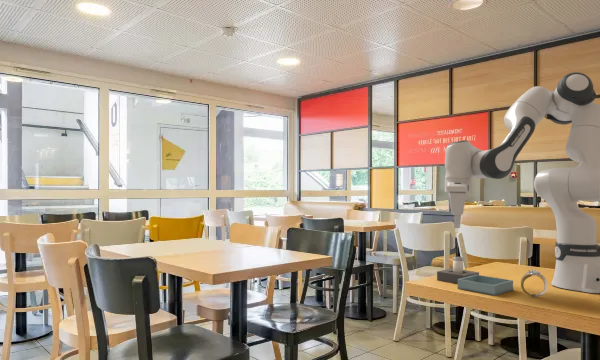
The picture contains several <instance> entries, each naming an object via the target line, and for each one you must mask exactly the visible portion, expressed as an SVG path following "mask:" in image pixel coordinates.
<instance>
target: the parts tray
mask: <svg viewBox="0 0 600 360" xmlns="http://www.w3.org/2000/svg"><path fill="white" fill-rule="evenodd" d="M457 289H458V290H463V291H468V292H472V291H473V293H478V292H479V293H478V294H483V293H484V294H483V295H488V294H489V296H493V295H494V296H495V297H496V296H498V295H501V294H502V295H503V294H505V293H508V292H512V291H513V290H514V280H513V279H506V278H502V277H501V278H500V277H493V276H487V275H481V274H479V275H473V276H469V277H465V278H461V279H458V284H457ZM494 296H493V297H494Z"/></svg>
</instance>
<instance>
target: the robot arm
mask: <svg viewBox="0 0 600 360" xmlns="http://www.w3.org/2000/svg"><path fill="white" fill-rule="evenodd" d="M596 98H597V94H596V91H595V90H594V84H593V81H592V79H591V78H590V76H588V75H587V74H585V73H582V72H579V71H578V72H569V73H567V74H566V75H564V76H563V77H562V78H561V79H560V80H559V81H558V83H557V85H556V88H555V90H549V89H548V88H546V87H544V86H539V85H537V86H532V87H530V88H529V89H528V90H527V91H525V92H524V93H523V94H521V96H519V97H518V98H517V99H516V100H515V101H514V103H513V104H511V106H510V107H509V108H508V109H507V111H506V113H505V115H504V117H503V123H504V125H505V128H506V129H507V130H508V131H509V133H508V134H507V136H506V137H505V138H504V139H503V141H502V142H501V144H499V145H498V146H496V147H494V148H491V149H487V150H483V149H480V148H478V147H477V146H474V145H473V144H472V143H471V142H470V141H469V140H467V139H465V140H458V141H453V142H449V143H448V144H447V146H446V149H445V154H444V168H445V176H444V193H447V196H448V197H449V198H448V199H449V205H450V206H449V207H450V213H451V215H453V221H454V223H453V224H454V226H453V227H454V229H460V228H461V219H462V218H461V217H462V216H463V214H464V210H465V204H466V203H465V201H466V198H467V197H468V193H472V178H474V179H496V180H500V179H505V178H506V177H507V176H509V175H510V174H511V172H512V171H513V168H514V165H515V162H516V159H517V157H518V156H519V154H520V153H521V151H522V150H523V148H524V147H525V146H526V144H527V143H528V141H529V140H530V138H531V137H532V135H533V134H534V132H535V129H536V127H537V126H538V124H540V122H541V121H542V120H543V119H544V118H545V119H546V120H549V121H551V122H553V123H555V124H557V125H561V126H562V125H563V126H566V125H569V124H571V126H570V130H569V133H568V137H567V141H566V145H565V150H564V151H565V153H566V155H567V157H568V158H569V159H570V160H572V161H573V162H576V163H577V164H578V165H577V166H571V167H569V166H568V167H552V168H548V169H544V170H540V171H539V172H538V173H537V174H536V175H535V177H534V180H533V187H534V190H535V191H534V192H535V193H536V194H537V196H539V197H540V198H541V199H543V200H544V201H545V203H547V204H548V206H549V207H550V209H551V211H552V213H553V216H554V219H555V226H556V241H555V247H554V256H555V257H554V258H555V259H556V260H555V267H554V273H553V277H552V281H551V283H550V284H551V285H552V286H554V287H557V288H561V289H564V290H565V289H566V290H570V291H577V292H578V291H579V292H583V293H589V294H600V245H599V244H597V222H596V219H595V218H594V217H593V216H592V215H590V214H589V213H586V212H585V211H583V210H582V209H581V208H580V207H579V205H578V202H579V201H580V202H582V201H583V202H584V201H585V202H600V104H598V103H595V102H594V101H595V99H596Z"/></svg>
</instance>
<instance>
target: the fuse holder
mask: <svg viewBox="0 0 600 360" xmlns="http://www.w3.org/2000/svg"><path fill="white" fill-rule="evenodd" d="M473 275H480V271H474V270H473V271H472V270H467V269H463V273H462V274H459V273H453V267H452V268H448V269H447V268H446V269H442V270H438V271H436V280H437V281H440V282H444V283H445V282H446V283H452V284H457V285H458V279H461V278H465V277H469V276H473Z"/></svg>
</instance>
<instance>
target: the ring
mask: <svg viewBox="0 0 600 360" xmlns="http://www.w3.org/2000/svg"><path fill="white" fill-rule="evenodd" d="M541 272H542V271H540V270H537V269H531V270H530V269H529V270H528V271H527V272H526V273H524V274H523V275H522V276H521V278H520V287H521V290H522V291H523V292H524V294H526V295H527V296H529V297H532V298H534V297H535V298H538V297H541V296H543V295H544V294H545V293H546V292H547V289H548V280H547V279H546V277H545V276H544V275H543V274H541ZM533 276H534V277H535V276H536V277H538V278H540V279H541V280H542V283H543V290H542V291H541V292H539V293H534V292H532V293H530V292H529V291H527V290H526V289H525V286H524V284H525V282H526V280H527V279H528V278H530V277H533Z"/></svg>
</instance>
